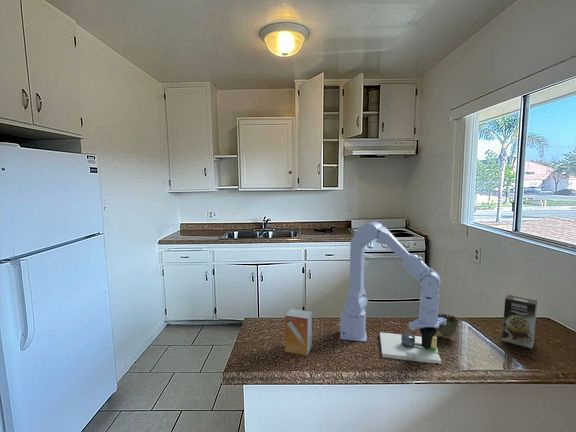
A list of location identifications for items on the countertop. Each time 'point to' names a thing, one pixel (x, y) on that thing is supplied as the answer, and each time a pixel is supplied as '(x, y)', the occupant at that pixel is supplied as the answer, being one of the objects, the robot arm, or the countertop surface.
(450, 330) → the olive rounded piece
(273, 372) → the countertop surface
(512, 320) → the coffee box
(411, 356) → the dial board
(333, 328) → the countertop surface
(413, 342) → the grey and tan piece
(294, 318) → the small box
